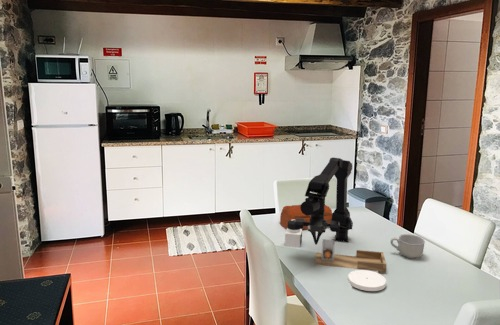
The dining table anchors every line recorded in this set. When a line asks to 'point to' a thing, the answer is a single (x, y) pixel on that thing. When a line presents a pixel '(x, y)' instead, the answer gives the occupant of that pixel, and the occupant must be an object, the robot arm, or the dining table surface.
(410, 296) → the dining table surface
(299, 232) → the medicine bottle
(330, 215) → the bread
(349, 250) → the dining table surface
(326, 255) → the ball
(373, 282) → the plastic lid
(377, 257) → the serving board
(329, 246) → the brushed metal u-channel
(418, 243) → the teacup
